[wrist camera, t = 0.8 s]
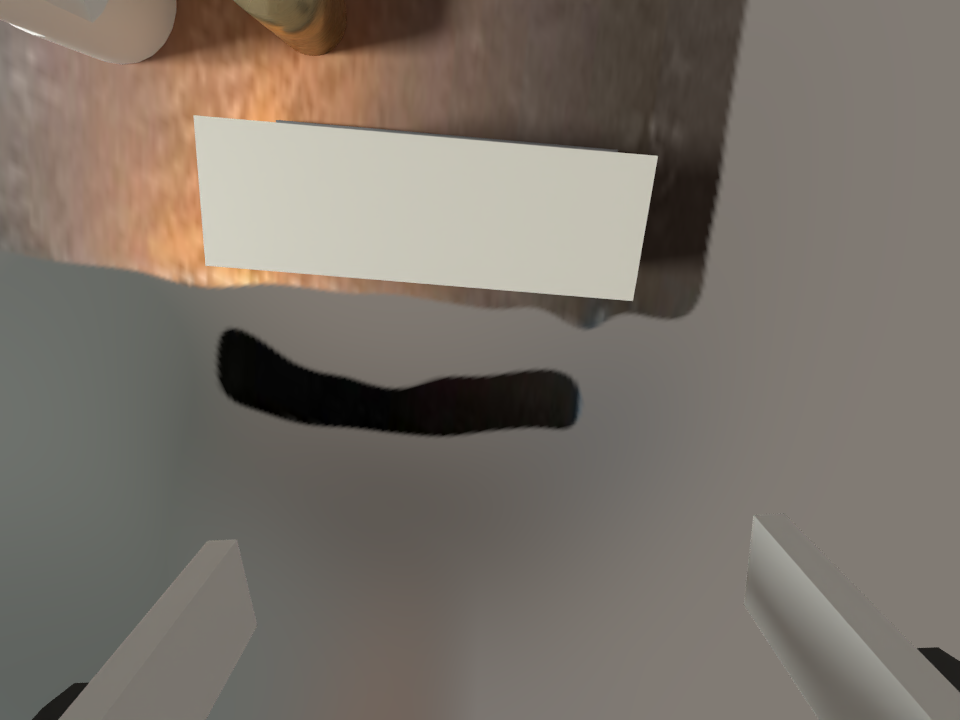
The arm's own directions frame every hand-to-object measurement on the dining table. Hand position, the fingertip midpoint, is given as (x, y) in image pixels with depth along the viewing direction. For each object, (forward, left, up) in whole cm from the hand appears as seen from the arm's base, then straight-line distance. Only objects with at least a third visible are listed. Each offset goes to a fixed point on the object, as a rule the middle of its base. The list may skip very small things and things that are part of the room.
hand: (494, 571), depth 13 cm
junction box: (-9, 0, -29) cm, 31 cm away
